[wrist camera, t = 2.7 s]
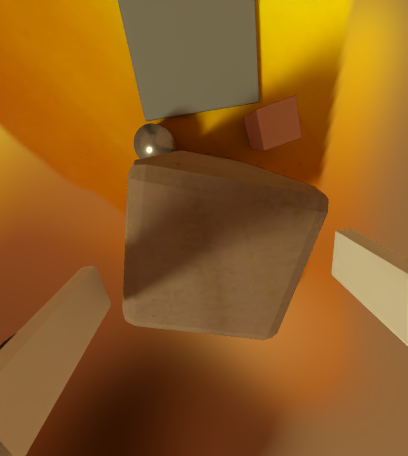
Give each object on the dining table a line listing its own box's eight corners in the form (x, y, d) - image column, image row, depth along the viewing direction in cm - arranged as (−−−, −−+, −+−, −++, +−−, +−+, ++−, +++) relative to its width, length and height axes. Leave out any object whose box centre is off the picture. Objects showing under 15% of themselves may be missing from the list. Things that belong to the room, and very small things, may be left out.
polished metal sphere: (139, 129, 26) (129, 126, 22) (172, 124, 26) (168, 120, 22) (147, 165, 28) (139, 168, 24) (179, 160, 28) (176, 162, 24)
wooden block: (247, 162, 28) (346, 194, 9) (231, 229, 31) (278, 349, 13) (174, 148, 27) (121, 153, 8) (166, 219, 31) (116, 331, 12)
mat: (111, -34, 20) (108, -39, 20) (250, -61, 20) (251, -67, 19) (146, 121, 26) (145, 120, 25) (257, 102, 25) (258, 101, 25)
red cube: (243, 117, 26) (256, 109, 20) (274, 106, 25) (295, 95, 20) (251, 149, 27) (264, 150, 22) (280, 139, 27) (301, 137, 21)
